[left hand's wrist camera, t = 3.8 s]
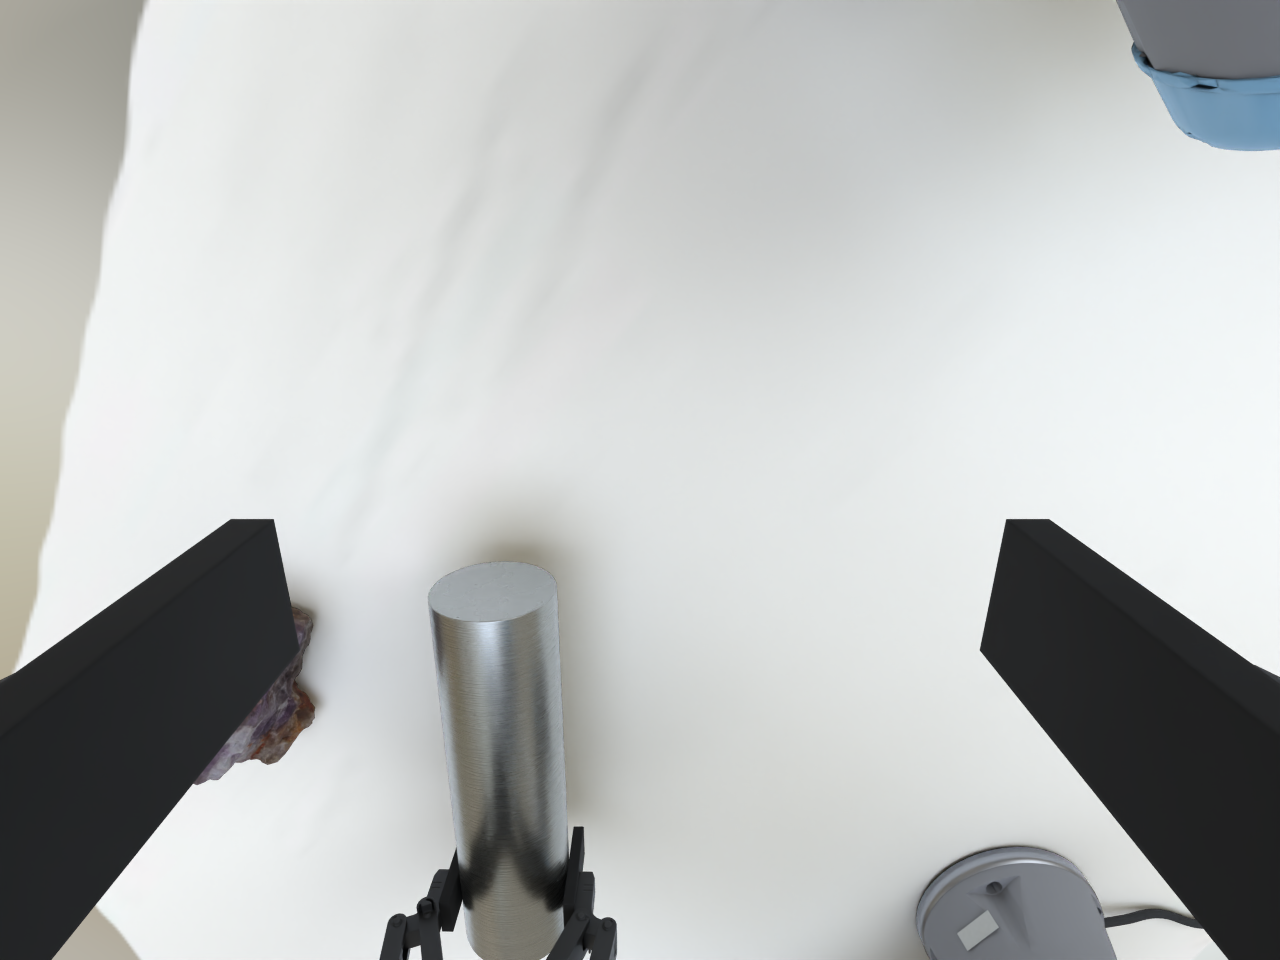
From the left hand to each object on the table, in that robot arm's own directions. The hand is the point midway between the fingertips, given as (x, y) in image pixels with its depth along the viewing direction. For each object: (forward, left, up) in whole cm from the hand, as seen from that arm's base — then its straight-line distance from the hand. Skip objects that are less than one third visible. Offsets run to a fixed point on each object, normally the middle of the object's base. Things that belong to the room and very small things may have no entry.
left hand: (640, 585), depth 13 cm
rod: (+28, -9, -29) cm, 42 cm away
